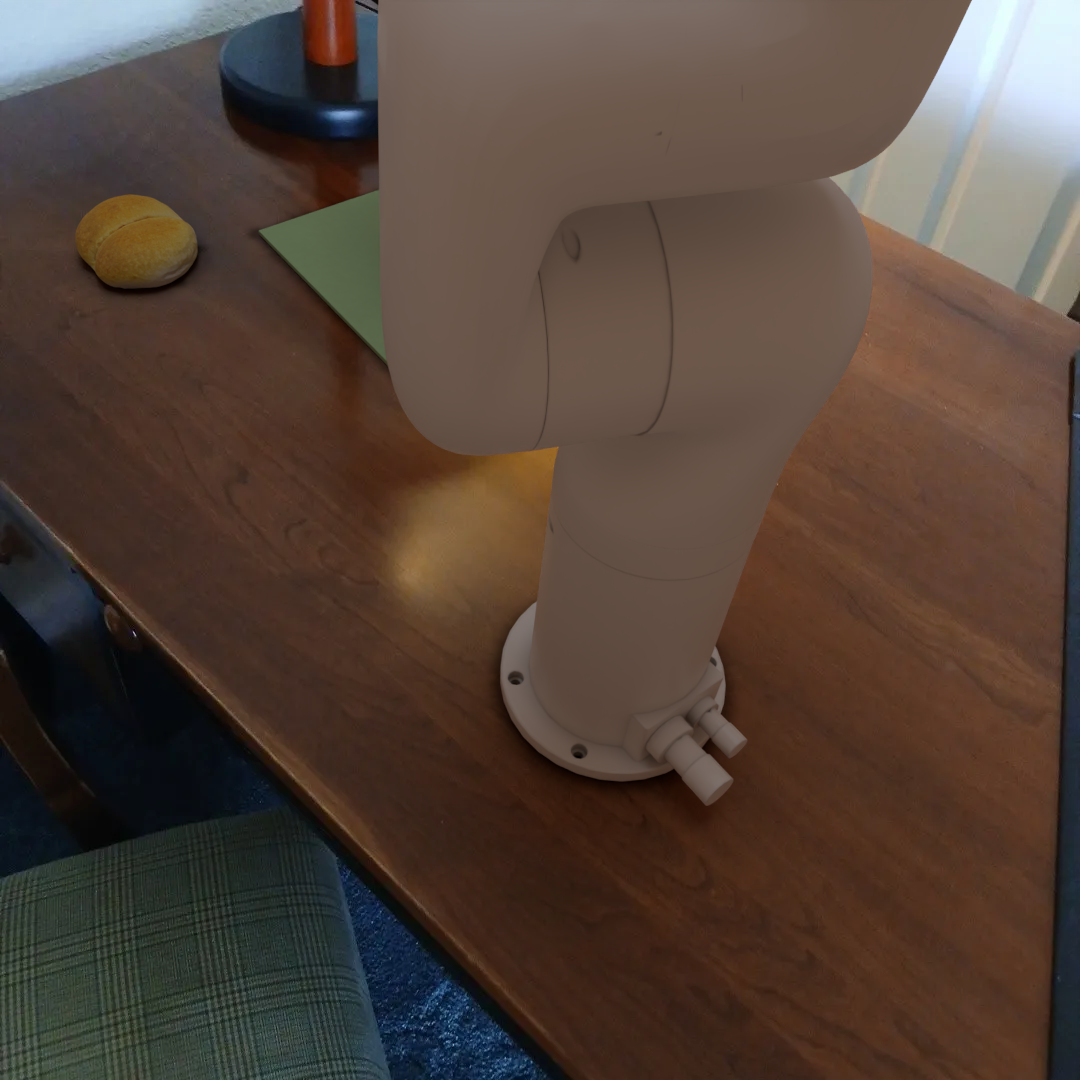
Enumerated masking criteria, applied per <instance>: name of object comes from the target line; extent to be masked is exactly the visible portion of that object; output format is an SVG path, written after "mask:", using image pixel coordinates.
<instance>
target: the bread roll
mask: <svg viewBox="0 0 1080 1080" xmlns="http://www.w3.org/2000/svg"><path fill="white" fill-rule="evenodd" d="M74 238H75V241H74V242H75V248H76V250H77V252H78V254H79V256H80V257H81V258H82V260H84V262H85V263H86V264H87V265H88V266H90V267H91V269H92V270H93V271H94V272H95V275H97V277H98V279H100V281H102V282H103V283H105V284H106V285H108V286H110V287H113V288H122V289H151V288H158V287H162V286H166V285H168V284H170V283H172V282H174V281H176V280H178V279H179V278H181V277H183V276H184V275H185V274H186V273H187V272H188V271H189V269H190V268H191V267H192V265H194V262H195V260H196V259H197V256H198V251H199V250H198V246H199V244H198V239H197V234H196V232H195V229H194V228H193V226H192V225H190V224H189V222H186V221H185V220H184V219H183V218H182V217H180V215H179V214H178V213H177V212H175V211H174V210H173V209H172V208H171V207H170V206H169V205H167V204H166V203H163V202H161V201H159V200H158V199H156V198H154V197H151V196H146V195H139V194H132V193H131V194H129V193H128V194H123V195H122V194H121V195H118V196H114V197H111V198H108V199H105V200H103V201H102V202H100V203H98V204H97V205H95V206H94V207H93V208H92V209H91V210H89V211H88V212H87V213H86V214H85V215H84V216H83V217H82V218H81V220H80V222H79V223H78V225H77V227H76V230H75V234H74Z"/></svg>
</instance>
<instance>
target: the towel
mask: <svg viewBox="0 0 1080 1080" xmlns="http://www.w3.org/2000/svg"><path fill="white" fill-rule="evenodd" d="M258 235H259V236H260V238H262V239H263V241H265V242H266V243H267V244H268V245H269V246H270V247H271V248H272V249H273V250H274V251H275V253H277V255H279V256H280V258H281V259H282V260H283V261H284V262H285V263H286V264H287V265H288V266H289V267H290V268H291V269H292V270H293V271H294V272H295V273H296V274H297V275H298V276H299V277H300V278H301V279H302V280H303V281H304V282H305V283H306V284H307V285H308V286H309V287H310V288H311V289H312V290H313V291H314V292H315V294H316V295H318V296H319V298H321V299H322V301H323V302H325V303H326V304H327V306H328V307H329V308H330V309H331V310H332V311H333V312H334V313H335V314H336V315H338V317H339V318H340V319H341V320H342V321H343V322H344V323H345V324H346V325H347V326H348V327H349V328H350V329H351V330H352V331H353V332H354V333H355V334H356V335H357V336H358V337H359V338H360V340H362V341H363V342H364V344H365V345H367V346H368V348H370V349H371V351H373V353H374V354H375V355H377V357H378V358H379V359H380V360H381V361H382V362H383V363H384V364H385V365H386V366H387V367H388V363H387V359H386V353H385V346H384V338H383V328H382V313H381V287H380V213H379V189H377V190H374V191H371V192H368V193H365V194H363V195H359V196H356V197H353V198H350V199H347V200H343V201H341V202H339V203H336V204H333V205H330V206H327V207H324V208H321V209H318V210H315V211H311V212H309V213H306V214H303V215H300V216H297V217H294V218H291V219H288V220H285V221H282V222H279V223H276V224H273V225H270V226H267V227H265V228H262V229H259V230H258Z"/></svg>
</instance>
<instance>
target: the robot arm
mask: <svg viewBox="0 0 1080 1080" xmlns="http://www.w3.org/2000/svg"><path fill="white" fill-rule="evenodd" d="M370 1H371V2H373V3H374V4H376V5H377V29H376V30H377V33H376V35H377V36H376V42H377V43H376V44H377V45H376V49H377V53H376V54H377V55H376V56H377V57H376V58H377V124H378V125H377V128H378V129H377V130H378V131H377V132H378V135H377V136H378V190H379V213H380V287H381V313H382V328H383V338H384V346H385V353H386V359H387V363H388V366H387V367H388V371H389V375H390V379H391V383H392V386H393V389H394V393H395V395H396V397H397V400H398V402H399V405H400V406H401V409H402V411H403V413H404V414H405V416H406V417H407V419H408V421H409V422H410V423H411V424H412V426H413V427H414V428H415V429H416V430H417V432H419V434H421V435H422V436H423V437H424V438H425V440H427V441H428V442H430V443H432V444H433V445H435V446H437V447H439V448H441V449H442V450H445V451H447V452H450V453H454V454H457V455H464V456H474V457H475V456H477V457H478V456H479V457H485V456H487V457H488V456H498V455H508V454H509V455H510V454H517V453H525V452H534V451H540V450H547V449H554V448H557V451H556V455H555V460H554V465H553V470H552V479H551V488H550V495H549V496H550V497H549V504H548V511H547V518H546V525H545V526H546V527H545V535H544V543H543V549H542V550H543V551H542V557H541V558H542V559H541V566H540V574H539V581H538V583H539V584H538V589H537V597H536V601H535V602H534V603H532V604H531V605H530V606H529V607H528V608H527V609H525V611H523V613H522V614H521V615H520V616H519V617H518V618H517V620H516V621H515V623H514V624H513V626H512V628H511V629H510V630H509V631H508V634H507V637H506V640H505V642H504V645H503V647H502V653H501V660H500V671H499V675H500V677H499V684H500V689H501V695H502V700H503V704H504V705H505V708H506V710H507V713H508V715H509V718H510V720H511V722H512V723H513V724H514V726H515V728H516V729H517V730H518V732H519V733H520V734H521V736H522V737H523V738H524V740H526V742H528V743H529V744H530V745H531V746H532V747H533V748H534V750H536V751H537V753H539V754H541V755H542V756H543V757H545V758H547V759H548V760H550V761H551V762H552V763H554V764H555V765H557V766H559V767H561V768H564V769H566V770H568V771H570V772H573V773H575V774H577V775H580V776H584V777H588V778H592V779H596V780H601V781H613V782H632V781H642V780H648V779H650V778H655V777H658V776H661V775H664V774H667V773H669V772H671V771H673V770H675V772H676V773H677V774H678V775H679V776H680V777H681V780H682V781H683V782H684V784H685V785H686V786H687V787H688V788H689V789H690V790H691V791H692V793H694V794H695V796H696V797H697V798H698V799H699V800H700V801H701V802H702V804H704V806H706V807H708V806H711V805H712V804H714V803H715V802H717V801H718V800H719V799H720V798H721V797H722V796H723V795H724V794H725V793H727V791H728V790H729V789H730V788H731V786H732V784H733V783H734V778H733V777H732V776H731V774H729V773H728V772H727V770H726V769H725V768H723V766H721V764H719V762H718V761H717V760H716V759H715V758H714V757H713V756H712V755H711V754H710V753H707V752H706V751H705V750H704V749H703V747H704V746H705V745H706V743H707V742H708V741H709V739H711V742H712V743H713V744H714V745H715V746H716V747H717V749H719V750H720V751H721V753H722V754H724V756H725V757H726V758H727V759H731V758H733V757H735V756H736V755H738V754H739V753H740V752H741V751H742V750H743V748H744V747H745V746H746V744H747V743H748V738H746V737H745V736H744V734H743V733H742V732H741V731H739V729H737V727H736V726H735V725H734V724H732V722H729V721H728V720H727V719H726V718H725V717H724V715H723V714H721V713H722V710H723V707H724V704H725V699H726V698H725V696H726V688H727V687H726V677H725V669H724V664H723V662H722V659H721V656H720V653H719V651H718V648H717V647H716V645H717V642H718V639H719V636H720V634H721V632H722V629H723V626H724V623H725V621H726V618H727V616H728V612H729V609H730V607H731V604H732V601H733V599H734V596H735V593H736V590H737V587H738V585H739V583H740V579H741V577H742V574H743V572H744V569H745V566H746V564H747V561H748V559H749V555H750V553H751V550H752V547H753V545H754V542H755V539H756V537H757V535H758V532H759V530H760V527H761V525H762V522H763V520H764V517H765V514H766V511H767V509H768V506H769V504H770V501H771V498H772V496H773V494H774V492H775V489H776V486H777V484H778V482H779V480H780V477H781V475H782V473H783V471H784V469H785V467H786V465H787V463H788V461H789V459H790V457H791V455H792V453H793V452H794V451H795V448H796V447H797V445H798V444H799V442H800V441H801V439H802V437H803V436H804V435H805V433H806V432H807V430H808V428H809V427H810V426H811V424H812V423H813V421H814V420H815V419H816V418H817V416H818V415H819V414H820V412H821V411H822V409H823V408H824V406H825V404H826V403H827V402H828V400H829V399H830V398H831V396H832V394H833V393H834V391H835V390H836V388H837V387H838V385H839V384H840V382H841V381H842V379H843V377H844V375H845V373H846V371H847V369H848V368H849V365H850V364H851V362H852V360H853V358H854V357H855V354H856V352H857V350H858V347H859V344H860V342H861V339H862V337H863V334H864V331H865V327H866V324H867V320H868V316H869V314H870V313H869V312H870V307H871V301H872V294H873V287H874V286H873V284H874V283H873V281H874V264H873V255H872V247H871V242H870V239H869V235H868V232H867V228H866V225H865V224H864V221H863V219H862V217H861V216H862V215H861V214H860V212H859V210H858V208H857V206H856V205H855V204H854V202H853V201H852V199H851V197H850V196H849V195H848V194H847V193H846V192H845V191H844V190H843V189H842V188H841V187H840V185H838V184H837V182H836V181H834V180H833V179H832V177H836V176H838V175H841V174H845V173H847V172H849V171H852V170H855V169H857V168H859V167H861V166H863V165H865V164H867V163H869V162H870V161H872V160H874V159H875V158H877V157H878V156H879V155H881V154H882V153H883V152H884V151H886V149H888V148H889V147H890V146H891V145H892V144H893V143H894V142H895V140H896V139H897V138H898V137H899V135H900V134H901V133H902V132H903V131H904V129H905V128H906V127H907V125H908V124H909V123H910V121H911V119H912V118H913V116H914V115H915V113H916V112H917V110H918V109H919V107H920V105H921V104H922V102H923V100H924V98H925V96H926V94H927V93H928V91H929V90H930V87H931V85H932V83H933V81H934V79H935V77H936V76H937V74H938V72H939V70H940V68H941V65H942V64H943V61H944V60H945V58H946V56H947V53H948V52H949V50H950V47H951V45H952V44H953V41H954V39H955V37H956V36H957V33H958V32H959V28H960V26H961V25H962V22H963V20H964V18H965V16H966V14H967V11H968V10H969V7H970V5H971V3H972V1H973V0H370ZM576 756H577V757H576ZM578 757H580V758H578Z"/></svg>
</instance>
